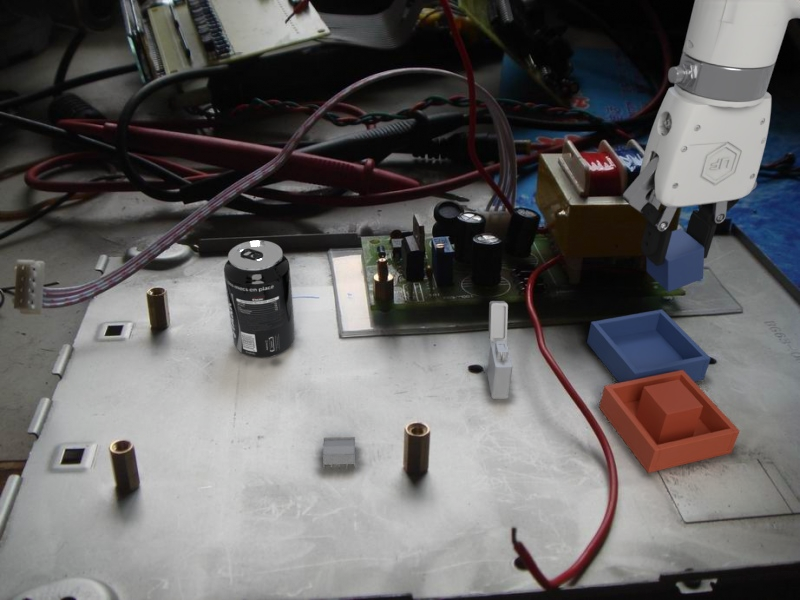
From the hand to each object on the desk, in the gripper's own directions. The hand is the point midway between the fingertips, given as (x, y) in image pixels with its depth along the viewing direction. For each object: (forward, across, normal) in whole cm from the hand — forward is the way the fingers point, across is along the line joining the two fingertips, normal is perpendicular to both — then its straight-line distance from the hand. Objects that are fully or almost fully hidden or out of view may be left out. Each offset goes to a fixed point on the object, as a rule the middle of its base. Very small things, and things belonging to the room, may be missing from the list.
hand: (673, 253), depth 76 cm
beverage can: (+14, -40, +14) cm, 45 cm away
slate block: (+3, +1, 0) cm, 3 cm away
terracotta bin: (+14, -4, -10) cm, 18 cm away
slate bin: (+14, 0, 0) cm, 14 cm away
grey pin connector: (+14, -36, -5) cm, 39 cm away
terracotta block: (+13, -4, -10) cm, 17 cm away
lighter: (+14, -17, +2) cm, 22 cm away
